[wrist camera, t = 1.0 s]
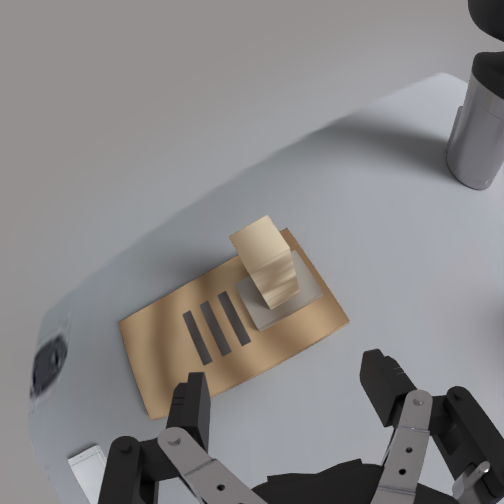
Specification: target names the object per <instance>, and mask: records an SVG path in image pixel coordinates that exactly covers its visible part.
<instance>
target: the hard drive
mask: <svg viewBox="0 0 504 504" xmlns="http://www.w3.org/2000/svg"><path fill="white" fill-rule="evenodd" d="M67 461H68V463H69V465H70V467H71V469H72V471H73V473H74V475H75V477H76V479H77V481H78V483H79V484H80V486H81V488H82V490H83V491H84V493H85V495H86V497H87V498H88V500H89V502H90V503H91V504H98V499H99V494H100V489H101V484H102V480H103V475H104V471H105V467H106V463H107V460H106V458H105V456H104V454H103V452H102V450H101V448H100V447H99V445H96V446H93V447H91V448H89V449H87V450H85V451H84V452H82V453H80V454H78V455H76V456H74V457H73V458H71V459H69V460H67Z"/></svg>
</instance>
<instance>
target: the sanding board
mask: <svg viewBox="0 0 504 504" xmlns="http://www.w3.org/2000/svg"><path fill="white" fill-rule="evenodd" d="M279 233H280V234H281V236H282V237H283V238H284V240H285V241H286V243H287V244H288V246H289V247H290V251H291V252H292V251H294V250H296V251H297V253H298V254H299V256H300V257H301V259H302V260H303V262H304V263H305V265H306V266H307V268H308V269H309V271H310V272H311V274H312V275H313V277H314V278H315V280H316V281H317V283H318V284H319V286H320V287H321V289H322V290H323V296H322V297H320V298H319V299H317V300H315V301H314V302H312V303H310V304H309V305H307V306H305V307H304V308H302V309H300V310H298V311H297V312H295V313H293V314H291V315H290V316H288V317H286V318H284V319H283V320H281V321H279V322H277V323H276V324H274V325H272V326H270V327H268V328H267V329H265V330H263V331H261V332H260V331H259V330H258V328H257V326H256V325H255V323H254V321H253V319H252V317H251V315H250V313H249V311H248V309H247V307H246V306H245V304H244V302H243V300H242V298H241V296H240V294H239V292H238V290H237V288H236V286H235V283H237V282H239V281H241V280H243V279H244V278H246V277H248V276H250V274H249V273H248V271H247V269H246V267H245V266H244V264H243V262H242V260H241V258H240V256H239V255H237V256H235V257H234V258H232V259H230V260H228V261H226V262H225V263H223V264H221V265H219V266H218V267H216V268H214V269H212V270H211V271H209V272H207V273H205V274H203V275H202V276H200V277H198V278H196V279H195V280H193V281H191V282H189V283H187V284H186V285H184V286H182V287H180V288H179V289H177V290H175V291H173V292H172V293H170V294H168V295H166V296H164V297H163V298H161V299H159V300H157V301H156V302H154V303H152V304H150V305H149V306H147V307H145V308H143V309H142V310H140V311H138V312H136V313H134V314H133V315H131V316H129V317H127V318H126V319H124V320H122V321H120V322H119V327H120V331H121V334H122V338H123V341H124V345H125V348H126V351H127V355H128V358H129V361H130V364H131V367H132V370H133V373H134V376H135V379H136V382H137V385H138V388H139V390H140V393H141V396H142V399H143V401H144V404H145V406H146V409H147V411H148V414H149V416H150V419H151V420H157V419H160V418H162V417H165V416H168V415H169V411H170V406H171V401H172V397H173V392H174V389H175V388H176V386H177V385H178V384H179V383H184V382H187V380H188V375H189V372H204V373H205V376H206V380H207V385H208V389H209V393H210V398H211V397H213V396H215V395H218V394H220V393H222V392H224V391H226V390H228V389H230V388H233V387H235V386H237V385H239V384H241V383H243V382H245V381H247V380H249V379H251V378H253V377H255V376H257V375H259V374H261V373H263V372H265V371H267V370H269V369H271V368H272V367H274V366H276V365H278V364H280V363H282V362H284V361H286V360H287V359H289V358H291V357H293V356H295V355H296V354H298V353H300V352H302V351H303V350H305V349H307V348H309V347H310V346H312V345H314V344H315V343H317V342H319V341H320V340H322V339H324V338H325V337H327V336H329V335H330V334H332V333H334V332H335V331H337V330H338V329H340V328H342V327H343V326H345V325H346V324H348V323H349V319H348V317H347V316H346V314H345V313H344V311H343V309H342V308H341V306H340V305H339V303H338V302H337V300H336V299H335V297H334V296H333V294H332V293H331V291H330V290H329V288H328V287H327V285H326V284H325V282H324V281H323V279H322V278H321V276H320V275H319V273H318V272H317V270H316V269H315V267H314V266H313V264H312V263H311V261H310V260H309V258H308V257H307V256H306V254H305V253H304V251H303V250H302V248H301V247H300V245H299V244H298V243H297V241H296V240H295V238H294V237H293V235H292V234H291V233H290V231H289V230H288V228H285V229H284V230H282V231H280V232H279Z"/></svg>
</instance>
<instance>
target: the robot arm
mask: <svg viewBox="0 0 504 504" xmlns="http://www.w3.org/2000/svg"><path fill="white" fill-rule="evenodd" d="M468 8H469V12H470V15H471V18H472V20H473V21H474V23H475V24H476V25H477V26H478V27H479V28H480V29H481V30H482V31H484V32H485V33H487V34H489V35H490V36H492V37H494V38H496V39H499V40H501V41H503V42H504V0H468ZM446 150H447V152H448V155H447V163H448V166H449V168H450V170H451V172H452V173H453V174H454V176H455V177H456V178H457V179H458V180H460V181H461V182H462V183H464V184H465V185H467V186H469V187H471V188H474V189H479V190H483V189H486V188H488V187H489V186H490V185H491V183H492V182H493V180H494V178H495V176H496V174H497V172H498V171H499V169H500V167H501V165H502V163H503V161H504V51H503V52H481V53H478V54H477V55H476V56H475V58H474V60H473V66H472V71H471V76H470V80H469V84H468V89H467V93H466V97H465V101H464V104H463V106H460V107H459V108H458V111H457V114H456V118H455V122H454V125H453V128H452V132H451V135H450V138H449V141H448V144H447V147H446ZM360 382H361V385H362V386H363V388H364V390H365V392H366V394H367V396H368V398H369V399H370V401H371V403H372V405H373V407H374V409H375V411H376V412H377V414H378V416H379V418H380V420H381V422H382V424H383V426H384V427H388V426H391V425H392V426H393V428H394V430H393V432H392V435H391V438H390V441H389V444H388V447H387V450H386V452H385V455H384V458H383V460H382V463H381V465H376V464H362V461H361V459H360V458H359V459H356V460H352V461H348V462H344V463H340V464H337V465H335V466H333V467H331V468H329V469H327V470H324V471H322V472H320V473H317V474H299V473H289V474H281V475H273V476H267V480H268V482H265V483H262V484H260V485H258V486H256V487H254V488H252V489H249V488H248V487H247V486H246V485H245V484H244V483H243V482H241V481H240V480H239V479H238V478H237V477H236V476H235V475H234V474H233V473H231V472H230V471H229V470H228V469H227V468H226V467H225V466H224V465H223V464H222V463H221V462H220V461H219V460H217V459H212V458H211V457H210V456H209V455H208V441H209V423H210V405H211V402H210V393H209V389H208V385H207V380H206V376H205V373H204V372H189V375H188V380H187V382H184V383H179V384H178V385H177V386H176V388H175V389H174V392H173V397H172V401H171V406H170V411H169V416H168V421H167V426H166V429H165V430H163V431H162V432H161V433H160V434H159V436H158V437H157V438H155V439H152V440H147V441H141V442H138V440H137V439H135V438H133V437H131V436H122V437H119V438H117V439H116V440H114V441H113V442H112V444H111V447H110V451H109V455H108V459H107V463H106V467H105V471H104V475H103V480H102V484H101V489H100V494H99V499H98V504H157V503H158V489H159V481H161V480H166V479H171V478H176V477H178V478H179V479H180V481H181V482H182V483H183V484H184V485H185V487H186V488H187V489H188V490H189V491H190V492H191V494H192V495H193V496H194V497H195V498H196V499H197V500H198V501H199V503H200V504H496V503H498V502H499V501H500V500H501V499H502V498H503V497H504V439H503V437H502V436H501V434H500V433H499V431H498V430H497V429H496V427H495V426H494V424H493V423H492V422H491V420H490V419H489V417H488V416H487V415H486V413H485V412H484V411H483V409H482V408H481V407H480V405H479V404H478V403H477V401H476V400H475V399H474V397H473V396H472V395H471V393H470V392H469V391H468V390H467V389H465V388H464V387H460V386H455V387H452V388H450V389H449V390H448V392H447V394H446V395H443V396H431V395H430V394H429V393H428V392H426V391H424V390H417V388H416V387H415V386H414V384H413V383H412V382H411V380H410V379H409V377H408V376H407V375H406V373H404V371H403V369H402V368H400V365H399V364H398V363H397V361H396V360H394V359H393V358H391V357H389V356H385V357H384V355H383V354H382V352H381V351H380V350H379V349H374V350H369V351H365V352H364V353H363V358H362V364H361V370H360ZM429 436H432V438H433V440H434V441H435V443H436V445H437V447H438V449H439V451H440V453H441V455H442V457H443V458H444V460H445V462H446V464H447V466H448V468H449V470H450V472H451V474H452V476H453V478H454V480H455V482H454V484H453V487H452V492H453V495H452V496H450V495H447V494H444V493H442V492H439V491H437V490H434V489H432V488H429V487H427V486H425V485H422V484H420V483H418V480H419V476H420V473H421V469H422V465H423V461H424V457H425V453H426V449H427V444H428V440H429Z"/></svg>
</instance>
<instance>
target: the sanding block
mask: <svg viewBox="0 0 504 504" xmlns="http://www.w3.org/2000/svg"><path fill="white" fill-rule="evenodd" d="M229 238H230V240H231V242H232V244H233V246H234V247H235V249H236V251H237V253H238V255H239V256H240V258H241V260H242V262H243V264H244V266H245V267H246V269H247V271H248V273H249V274H250V276H248V277H246V278H244V279H243V280H241V281H239V282H237V283H235V286H236V288H237V290H238V292H239V294H240V296H241V298H242V300H243V302H244V304H245V306H246V307H247V309H248V311H249V313H250V315H251V317H252V319H253V321H254V323H255V325H256V326H257V328H258V330H259V331H260V332H261V331H263V330H265V329H267V328H268V327H270V326H272V325H274V324H276V323H277V322H279V321H281V320H283V319H284V318H286V317H288V316H290V315H291V314H293V313H295V312H297V311H298V310H300V309H302V308H304V307H305V306H307V305H309V304H310V303H312V302H314V301H315V300H317V299H319V298H320V297H322V296H323V290H322V289H321V287H320V286H319V284H318V283H317V281H316V280H315V278H314V277H313V275H312V274H311V272H310V271H309V269H308V268H307V266H306V265H305V263H304V262H303V260H302V259H301V257H300V256H299V254H298V253H297V251H296V250H294V251H292V252H291V251H290V247H289V246H288V244H287V243H286V241H285V240H284V238H283V237H282V236H281V234H280V233H279V231H278V230H277V228H276V227H275V225H274V224H273V222H272V221H271V219H270V218H269V216H268V215H266V216H265V217H263V218H261V219H259V220H257V221H256V222H254V223H252V224H250V225H248V226H247V227H245V228H243V229H241V230H239V231H238V232H236V233H234V234H232V235H230V236H229Z"/></svg>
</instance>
